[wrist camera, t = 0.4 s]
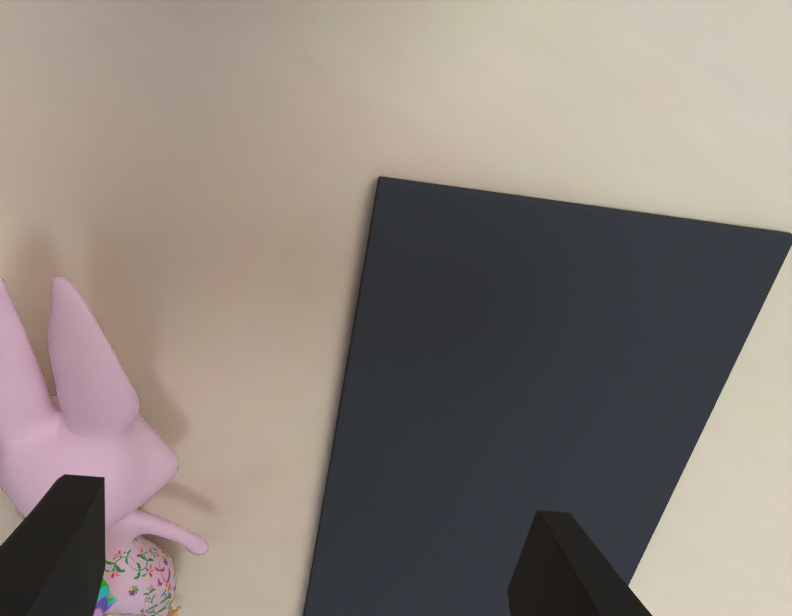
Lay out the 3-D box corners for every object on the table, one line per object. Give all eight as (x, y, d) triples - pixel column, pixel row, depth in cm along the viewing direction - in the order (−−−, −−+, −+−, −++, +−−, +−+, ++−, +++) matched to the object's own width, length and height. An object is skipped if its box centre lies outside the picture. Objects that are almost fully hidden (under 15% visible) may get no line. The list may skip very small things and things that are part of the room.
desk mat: (584, 665, 31) (587, 672, 31) (296, 655, 30) (296, 662, 29) (790, 232, 22) (795, 236, 21) (378, 176, 20) (379, 180, 20)
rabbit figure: (228, 564, 29) (176, 235, 19) (210, 732, 24) (129, 413, 14) (57, 570, 28) (-86, 234, 18) (5, 744, 23) (-222, 418, 14)
